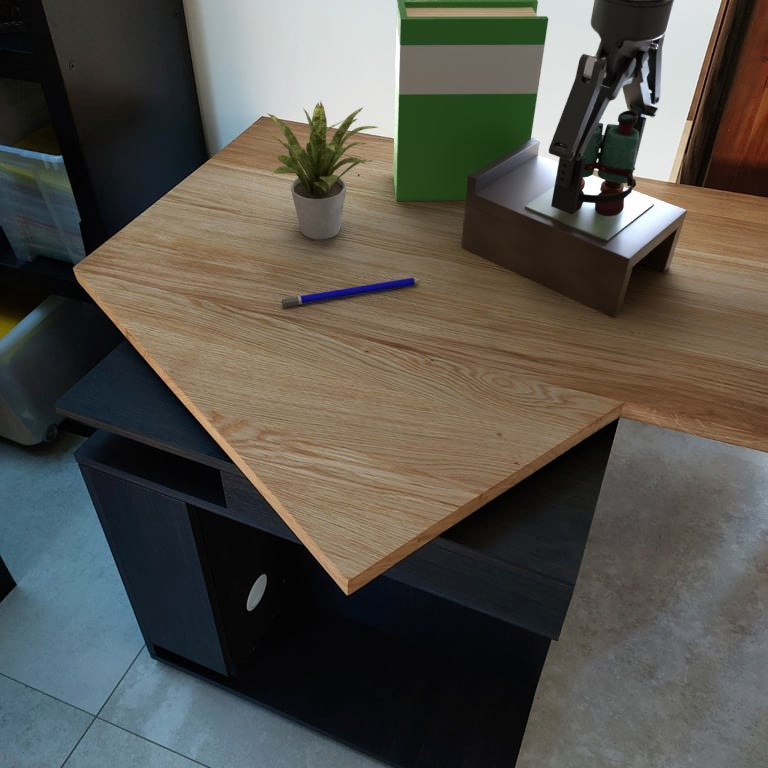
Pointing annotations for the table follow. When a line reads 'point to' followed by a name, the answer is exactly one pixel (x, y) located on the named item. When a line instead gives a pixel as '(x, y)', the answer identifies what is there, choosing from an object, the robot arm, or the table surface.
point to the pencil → (349, 291)
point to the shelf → (564, 230)
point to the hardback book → (462, 90)
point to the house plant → (318, 173)
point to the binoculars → (611, 164)
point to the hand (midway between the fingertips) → (593, 188)
